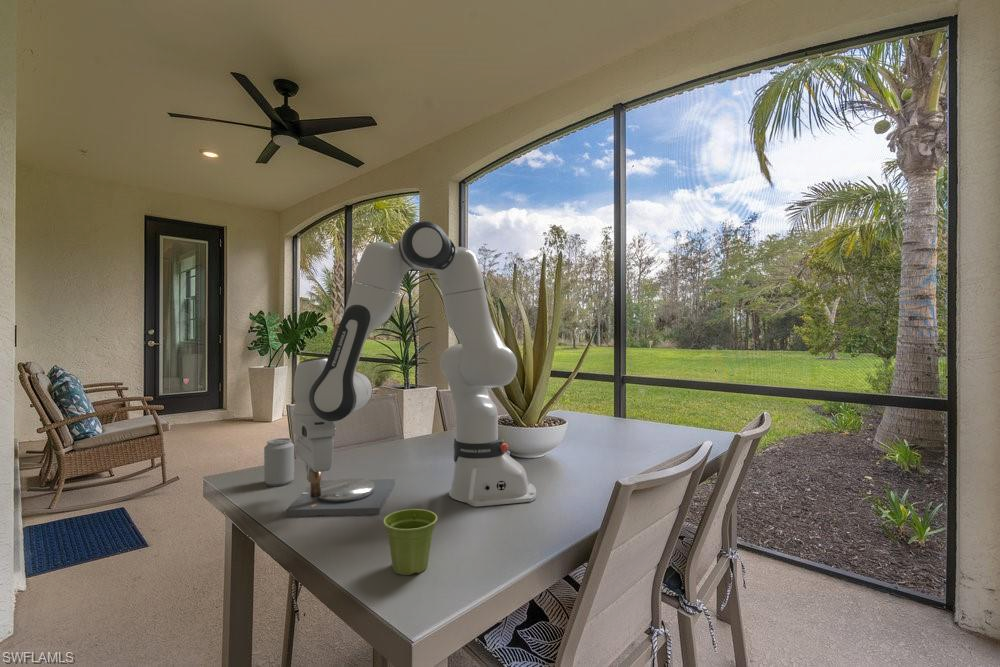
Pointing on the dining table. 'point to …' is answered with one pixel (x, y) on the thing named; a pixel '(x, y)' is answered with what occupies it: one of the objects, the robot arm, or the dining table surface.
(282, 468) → the can
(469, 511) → the dining table surface
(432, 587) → the dining table surface
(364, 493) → the dial
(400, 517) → the plant pot
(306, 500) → the dial plate
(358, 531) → the dining table surface
